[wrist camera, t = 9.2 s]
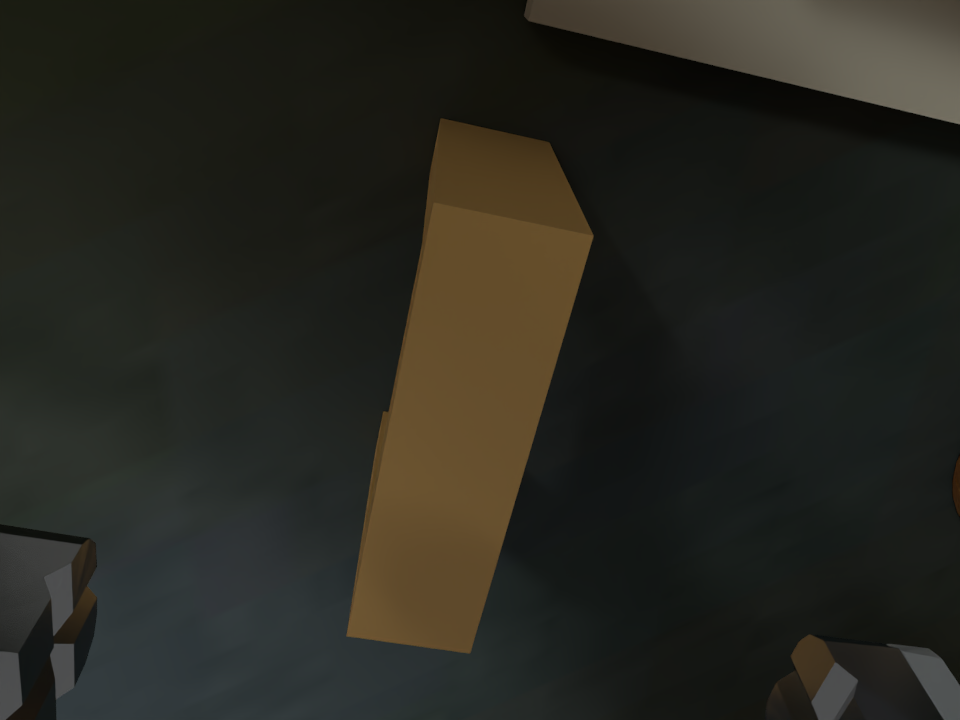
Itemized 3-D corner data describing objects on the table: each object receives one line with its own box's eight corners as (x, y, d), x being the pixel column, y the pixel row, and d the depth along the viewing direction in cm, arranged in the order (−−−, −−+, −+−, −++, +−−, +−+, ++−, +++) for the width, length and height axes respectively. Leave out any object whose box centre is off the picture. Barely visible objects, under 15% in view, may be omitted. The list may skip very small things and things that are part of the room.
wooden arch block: (440, 118, 17) (434, 202, 12) (549, 142, 18) (593, 235, 12) (375, 450, 21) (346, 636, 16) (466, 465, 22) (470, 653, 16)
